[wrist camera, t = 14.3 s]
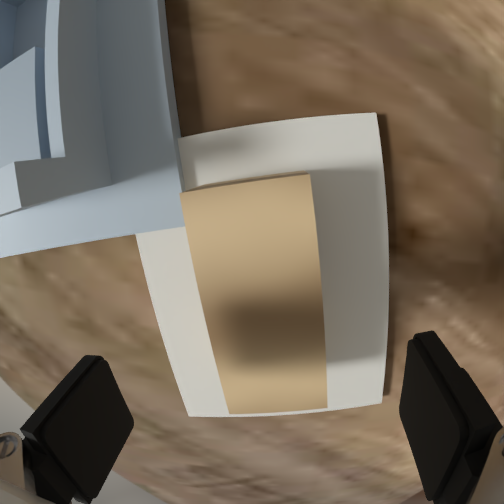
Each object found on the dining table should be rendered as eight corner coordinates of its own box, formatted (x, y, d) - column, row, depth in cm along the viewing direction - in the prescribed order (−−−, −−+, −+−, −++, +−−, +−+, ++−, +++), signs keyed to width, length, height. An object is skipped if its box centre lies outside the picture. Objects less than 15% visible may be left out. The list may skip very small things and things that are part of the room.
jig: (-4, 2, 12) (-70, -17, 5) (159, -86, 10) (112, -152, 3) (8, 253, 17) (-72, 293, 10) (194, 220, 16) (123, 274, 8)
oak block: (203, 184, 14) (179, 193, 11) (303, 170, 14) (309, 174, 10) (239, 370, 17) (229, 414, 14) (321, 364, 16) (327, 407, 13)
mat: (372, 114, 13) (376, 112, 13) (379, 396, 17) (381, 403, 17) (126, 152, 15) (120, 152, 14) (191, 410, 19) (189, 416, 19)
